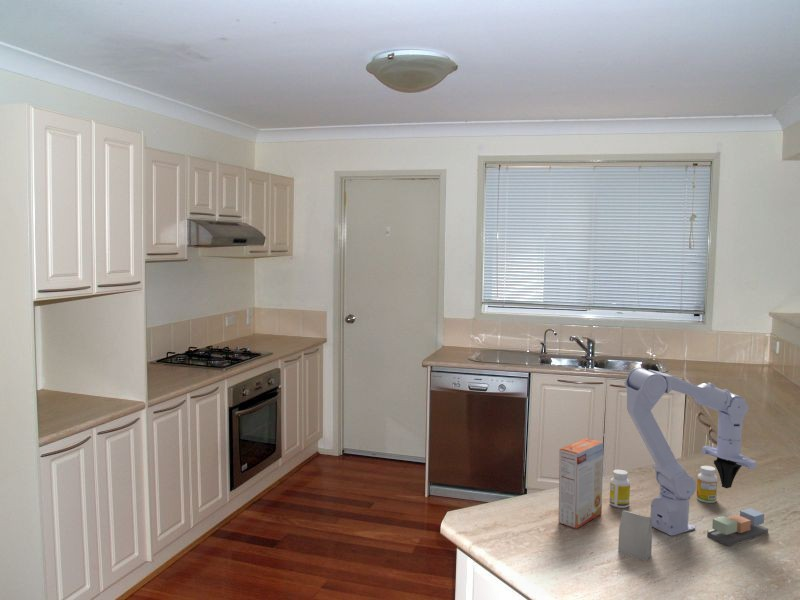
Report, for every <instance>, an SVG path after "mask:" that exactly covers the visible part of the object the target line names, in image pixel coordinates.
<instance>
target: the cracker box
mask: <svg viewBox="0 0 800 600" xmlns="http://www.w3.org/2000/svg"><path fill="white" fill-rule="evenodd" d="M558 464H559V466H558V467H559V469H558V476H559V477H558V480H559V481H558V524H561V525H563V524H564V525H565V526H567V527H569V528H572V529H575V530H578V529H579V528H580V527H582V526H584V525H585V524H587V523H588V522H590V521H592V520H593V519H595V518H597V517H599V516H600V515H601V514H602V512H603V509H602V508H603V507H602V506H603V505H602V504H603V478H604V477H603V473H604V470H603V469H604V442H603V441H602V440H601V441H600V440H596V439H594V438H590V437H589V438H588V437H584V438H582V439H580V440H578V441H575V442H573V443H569V445H566V446H563V447H561V448H559V463H558Z"/></svg>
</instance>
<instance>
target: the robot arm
mask: <svg viewBox="0 0 800 600" xmlns="http://www.w3.org/2000/svg"><path fill="white" fill-rule="evenodd" d="M624 385H625V389H626V410H627V412H628V413H629V414H628V415H629V416H630V418H631V420H632V422H633V423H634V425H635V428H636V430H637V431H638V433H639V436H640V437H641V439H642V442H643V443H644V445H645V446H646V448H647V451H648V452H649V454H650V456H651V458H652V461H653V462H654V465H653V469H654V471H655V480H656V482H657V483H658V484H659V491H660V492H659V494H658V496H656V497H655V498H653V499H652V501H651V504H650V516H649V517H651V526H652V528H655V529H657V530H659V531H661V532H662V533H665V534H667V535H668V536H676V535H679V534H682V533H683V534H684V533H686V532H690V531H693V530H695V529H696V526H694V525H693V524H690V523H689V515H690V500H691V497H693V495H694V494H695V492H696V491H697V482H696V481H695V479H694V478H693V477H692V476H691V475H689V474H688V473H687V471H686V469H685V468H684V467H683V466H682V465H681V464H680V462H678V460H677V459H676V456H675V455H674V453H673V451H672V450H671V448H670V446H669V444H668V442H667V439H666V438H665V435H664V433H663V432H662V429H661V427H660V426H659V424H658V422H657V419H656V417H654V415H653V413H652V409H653V408H654V407H655V405H656V404H657V403H658V402H659V400H660V399H662V397H664V395H665V394H670V392H672V391H675V392H678V393H681V394H684V395H687V396H690V397H693V400H694V402H695V403H696V404H698V405H701V406H703V407H706V408H708V409H711V410H714V411H717V412H718V419H717V436H716V437H717V439H716V447H713V446H709V445H704V446H701V447H702V448H701V454H703V455H709V456H711V457H715V458H716V459H714V460H713V464H714V466H715V469H716V471H717V472H718V475H719V478H720V482H721V483H720V484H721V487H722V488H724V489H730V488H732V485H733V483H734V479H735V477H736V475H737V474H738V473H739V470H740V469H741V468H742V467H744V468H747V469H748V470H751V471H752V470H755V469H757V461H756V460H753V459H751V458H750V457H747V456H745V455H743V454H741V453H742V452H741V450H742V437H743V436H742V435H743V434H742V432H743V431H742V430H743V424H744V423H743V422H744V420H745V416H746V415H747V414H748V411H749V409H750V407H749V405H748V404H747V401H746V399H745V398H744V397H742V396H741V395H738V394H735V393H732V392H731V391H730V390H728V389H726V388H724V389H721V388H718V387H716V384H714V383H711V382H707V383H705V382H704V383H700V384H698V385H696V384H693V383H691V382H689V381H686V380H684V379H680V378H679V377H676V376H674V375H671V374H669V373H665V372H661V371H657V370H654V369H648V370H647V369H646V368H644V367H641V366H638V367H634V368H633V369H631V370H630V371H629V373H628V374H627V377H626V379H625V381H624Z"/></svg>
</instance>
